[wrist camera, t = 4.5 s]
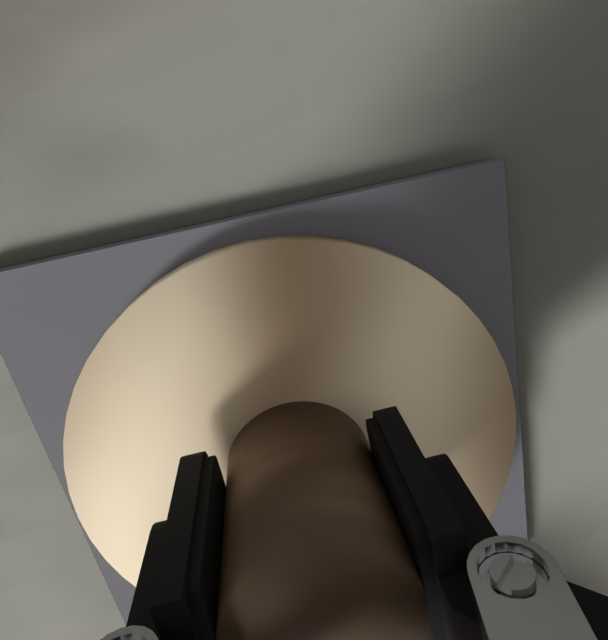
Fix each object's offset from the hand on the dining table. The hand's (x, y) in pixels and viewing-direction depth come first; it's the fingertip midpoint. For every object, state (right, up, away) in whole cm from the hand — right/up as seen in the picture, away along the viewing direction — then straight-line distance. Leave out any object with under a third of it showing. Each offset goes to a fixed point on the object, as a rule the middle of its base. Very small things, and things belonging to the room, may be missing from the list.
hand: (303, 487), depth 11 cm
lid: (0, +1, +2) cm, 2 cm away
